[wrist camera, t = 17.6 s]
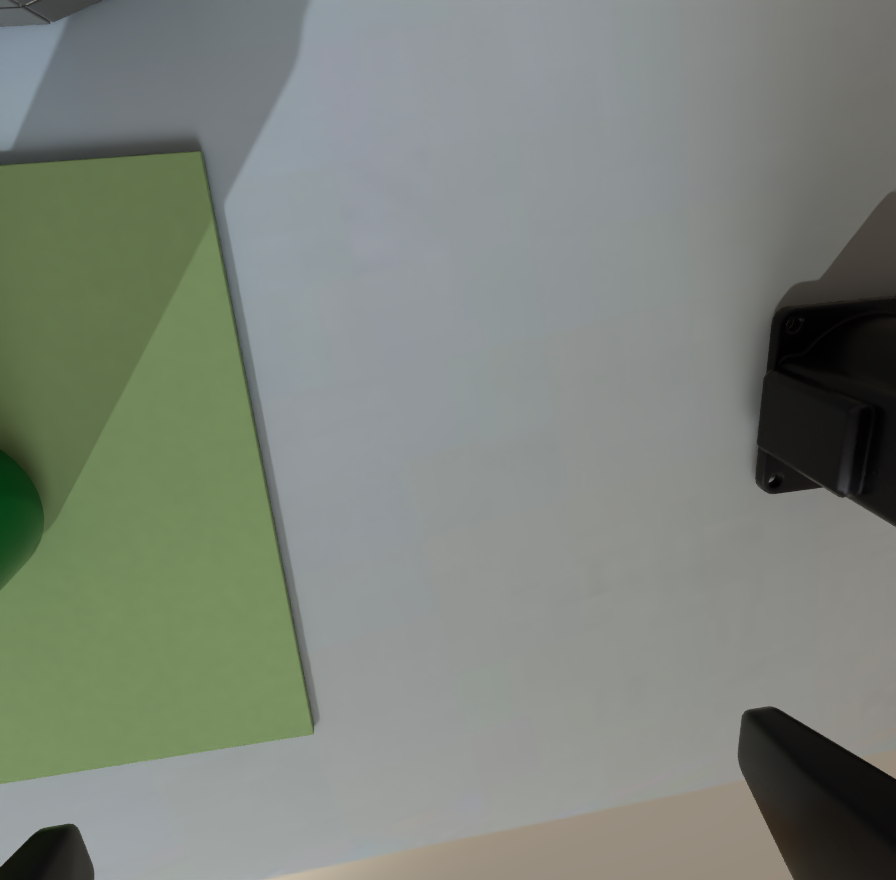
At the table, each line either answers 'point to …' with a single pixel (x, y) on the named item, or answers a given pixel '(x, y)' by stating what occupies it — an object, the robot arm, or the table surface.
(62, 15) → the pan
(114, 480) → the napkin
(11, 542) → the soda can
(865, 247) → the table surface
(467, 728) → the table surface
